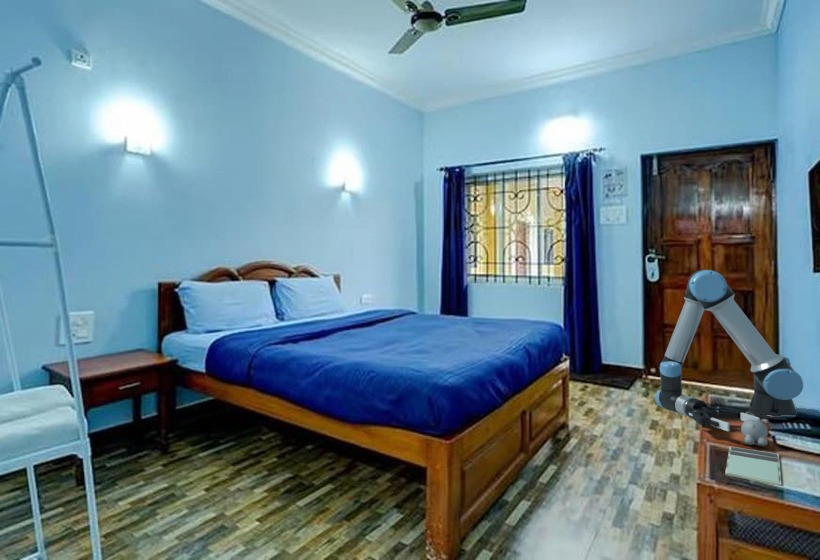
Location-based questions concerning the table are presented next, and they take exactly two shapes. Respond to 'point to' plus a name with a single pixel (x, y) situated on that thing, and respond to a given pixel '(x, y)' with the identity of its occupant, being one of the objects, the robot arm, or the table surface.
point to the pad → (753, 468)
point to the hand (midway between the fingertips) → (744, 424)
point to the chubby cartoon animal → (754, 432)
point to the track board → (754, 458)
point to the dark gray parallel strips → (754, 453)
